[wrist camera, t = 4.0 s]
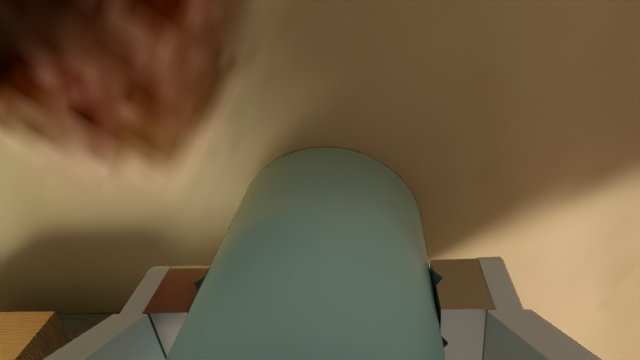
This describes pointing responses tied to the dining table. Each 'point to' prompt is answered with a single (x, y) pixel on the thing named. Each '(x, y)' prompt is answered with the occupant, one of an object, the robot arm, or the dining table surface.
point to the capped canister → (318, 269)
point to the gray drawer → (41, 332)
